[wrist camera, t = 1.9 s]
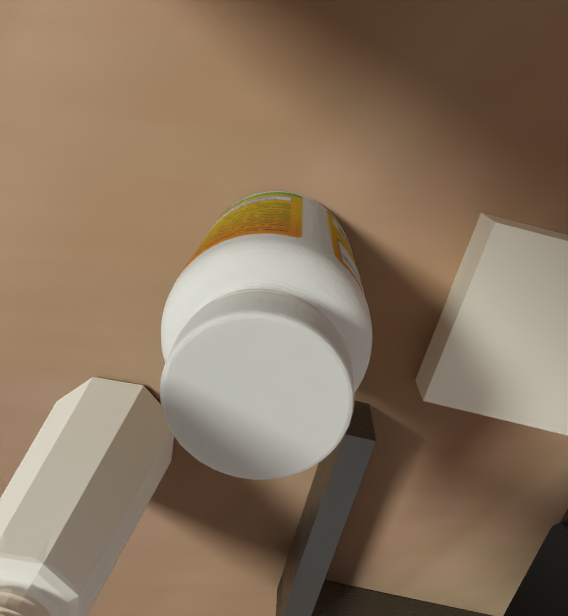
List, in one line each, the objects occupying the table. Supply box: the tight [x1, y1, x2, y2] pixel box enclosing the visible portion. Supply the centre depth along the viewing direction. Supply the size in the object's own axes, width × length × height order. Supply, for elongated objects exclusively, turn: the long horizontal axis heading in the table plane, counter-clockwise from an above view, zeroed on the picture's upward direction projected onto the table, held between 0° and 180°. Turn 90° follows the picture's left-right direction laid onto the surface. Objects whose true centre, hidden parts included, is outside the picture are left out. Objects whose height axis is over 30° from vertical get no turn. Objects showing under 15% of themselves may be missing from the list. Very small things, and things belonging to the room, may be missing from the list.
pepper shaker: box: [0, 377, 174, 616], centre depth 18 cm, size 5×5×11 cm
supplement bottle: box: [160, 191, 372, 480], centre depth 15 cm, size 5×5×10 cm
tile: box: [415, 213, 568, 435], centre depth 20 cm, size 7×7×2 cm
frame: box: [276, 401, 568, 616], centre depth 23 cm, size 11×12×2 cm
